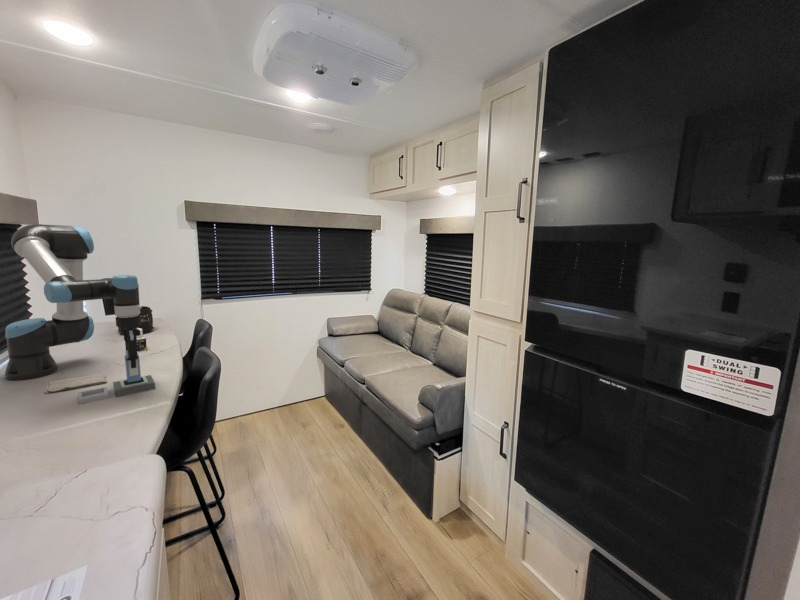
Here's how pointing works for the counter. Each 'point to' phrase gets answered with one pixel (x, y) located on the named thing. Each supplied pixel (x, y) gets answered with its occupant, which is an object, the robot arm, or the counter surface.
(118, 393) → the port block
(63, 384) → the washcloth
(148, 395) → the counter surface
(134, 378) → the plug
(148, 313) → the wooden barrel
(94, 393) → the grey square tray
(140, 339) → the medicine bottle
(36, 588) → the counter surface
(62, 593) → the counter surface
